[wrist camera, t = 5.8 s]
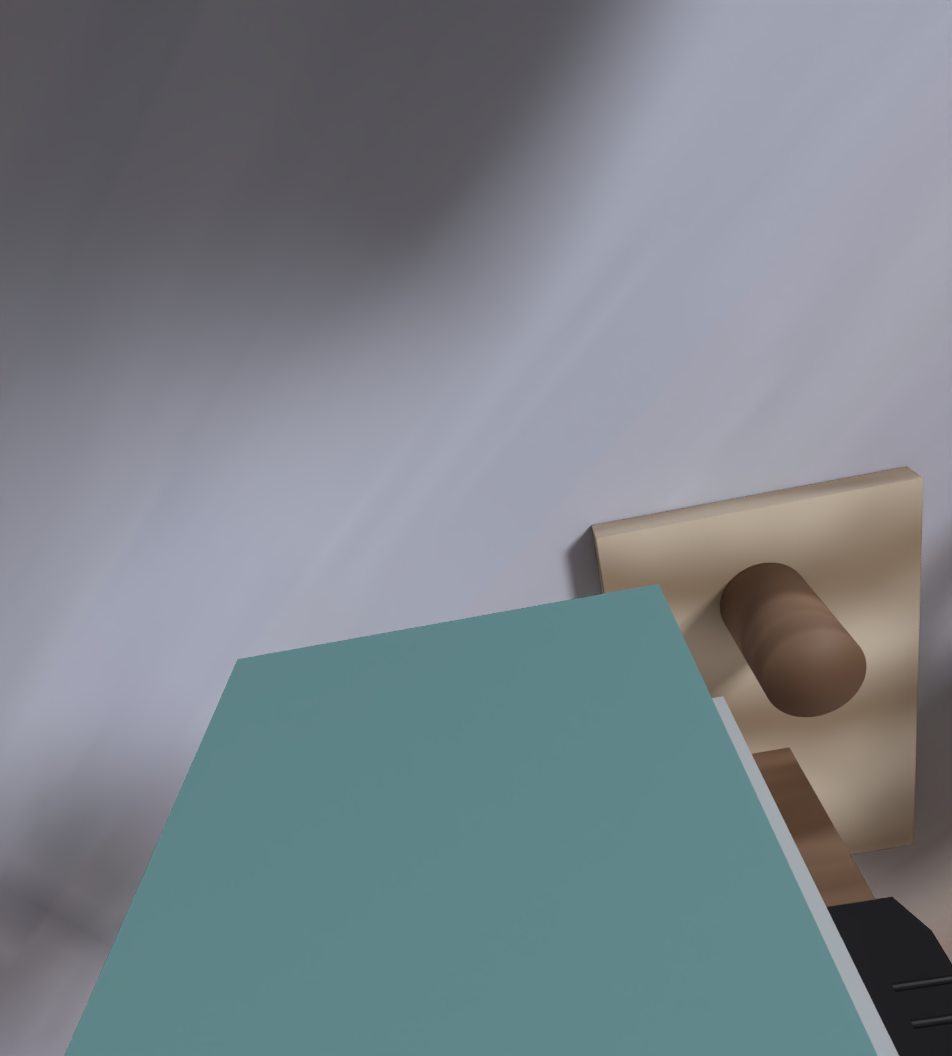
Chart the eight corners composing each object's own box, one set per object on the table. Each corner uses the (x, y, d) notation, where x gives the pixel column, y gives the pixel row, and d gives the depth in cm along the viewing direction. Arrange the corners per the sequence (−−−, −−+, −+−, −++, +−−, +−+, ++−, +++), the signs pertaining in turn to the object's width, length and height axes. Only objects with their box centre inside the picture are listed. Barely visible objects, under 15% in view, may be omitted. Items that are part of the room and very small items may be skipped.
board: (591, 525, 32) (655, 698, 22) (906, 466, 31) (1127, 616, 21) (643, 866, 39) (709, 1117, 29) (900, 824, 38) (1062, 1067, 28)
